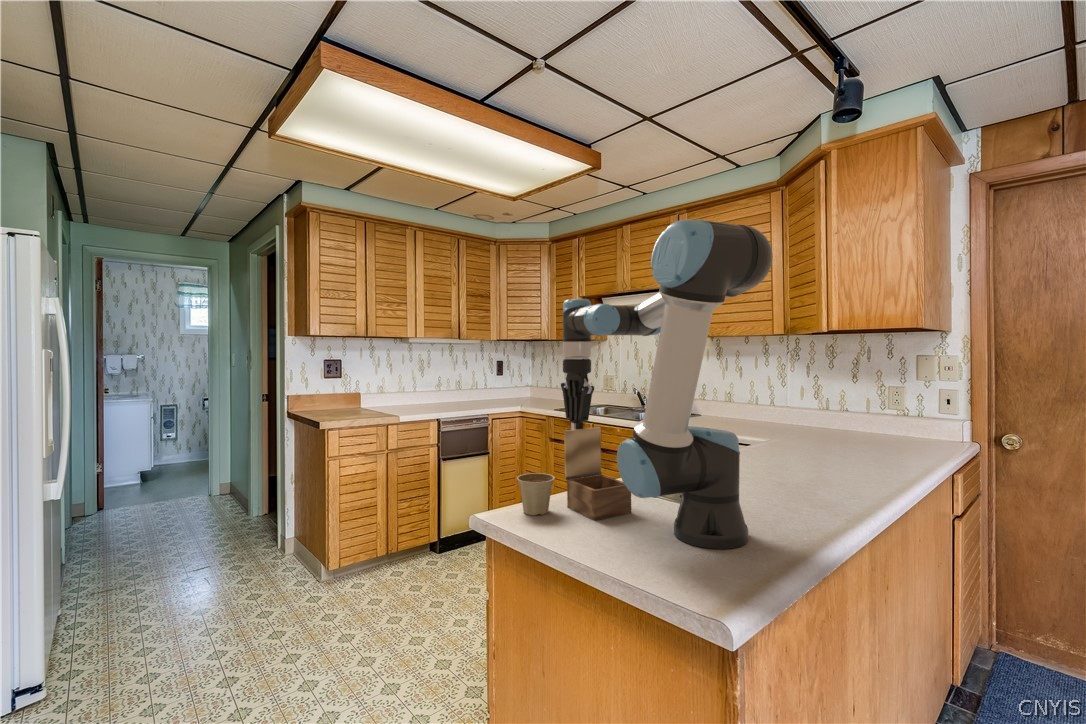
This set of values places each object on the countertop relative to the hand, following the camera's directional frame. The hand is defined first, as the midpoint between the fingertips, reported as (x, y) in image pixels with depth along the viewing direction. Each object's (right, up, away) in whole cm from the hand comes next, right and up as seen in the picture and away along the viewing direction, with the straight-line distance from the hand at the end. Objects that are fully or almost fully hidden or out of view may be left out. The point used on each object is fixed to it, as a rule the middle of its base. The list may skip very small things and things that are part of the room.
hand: (576, 446), depth 137 cm
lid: (+2, -1, -3) cm, 4 cm away
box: (+5, -15, -8) cm, 17 cm away
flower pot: (-11, -15, -9) cm, 20 cm away
